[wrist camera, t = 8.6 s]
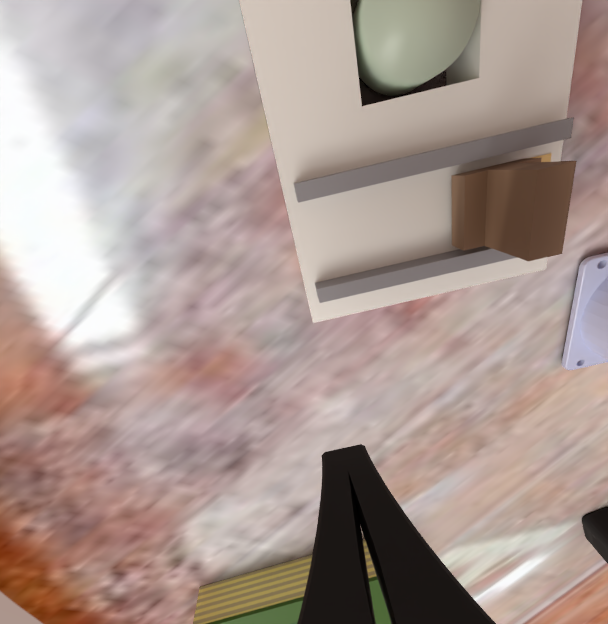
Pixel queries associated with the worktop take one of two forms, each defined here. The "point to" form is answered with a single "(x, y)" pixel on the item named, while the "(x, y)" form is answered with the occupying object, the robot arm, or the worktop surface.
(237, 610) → the hardcover book
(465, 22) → the sage button
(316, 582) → the robot arm
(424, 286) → the control panel
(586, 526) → the walkie-talkie
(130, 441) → the worktop surface
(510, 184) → the walnut slider
